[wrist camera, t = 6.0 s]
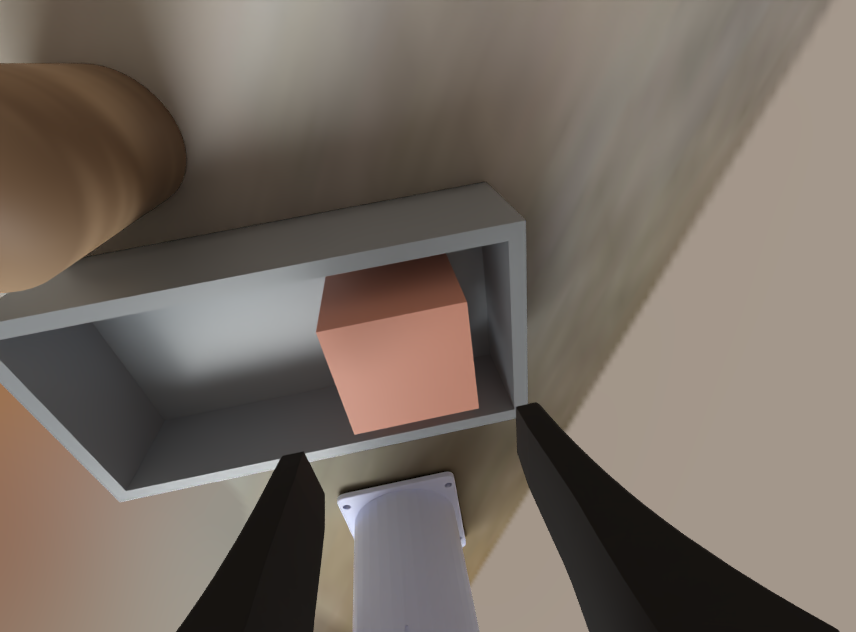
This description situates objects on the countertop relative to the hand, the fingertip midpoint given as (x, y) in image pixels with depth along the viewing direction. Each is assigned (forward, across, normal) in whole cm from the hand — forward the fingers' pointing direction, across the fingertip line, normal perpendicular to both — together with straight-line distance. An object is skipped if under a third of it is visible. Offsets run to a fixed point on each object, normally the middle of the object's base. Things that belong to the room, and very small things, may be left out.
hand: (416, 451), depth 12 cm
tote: (+9, +4, 0) cm, 10 cm away
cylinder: (+9, +9, -8) cm, 15 cm away
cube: (+8, 0, 0) cm, 8 cm away
